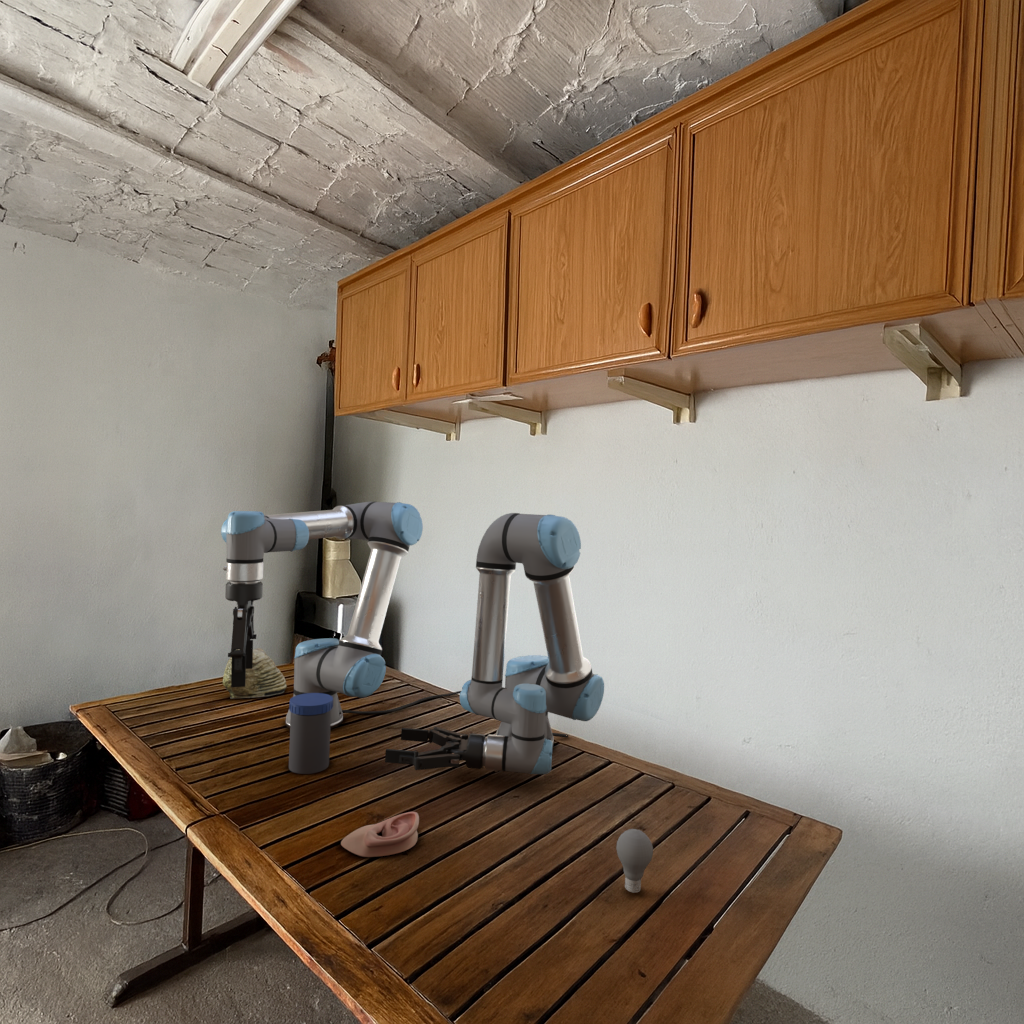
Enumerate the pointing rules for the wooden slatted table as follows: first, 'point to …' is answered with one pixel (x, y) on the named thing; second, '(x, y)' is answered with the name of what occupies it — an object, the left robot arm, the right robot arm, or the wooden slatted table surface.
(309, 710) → the lid
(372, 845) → the anatomical model
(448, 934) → the wooden slatted table surface
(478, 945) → the wooden slatted table surface
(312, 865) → the wooden slatted table surface
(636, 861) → the light bulb
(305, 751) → the jar
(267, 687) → the fossil
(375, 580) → the left robot arm
